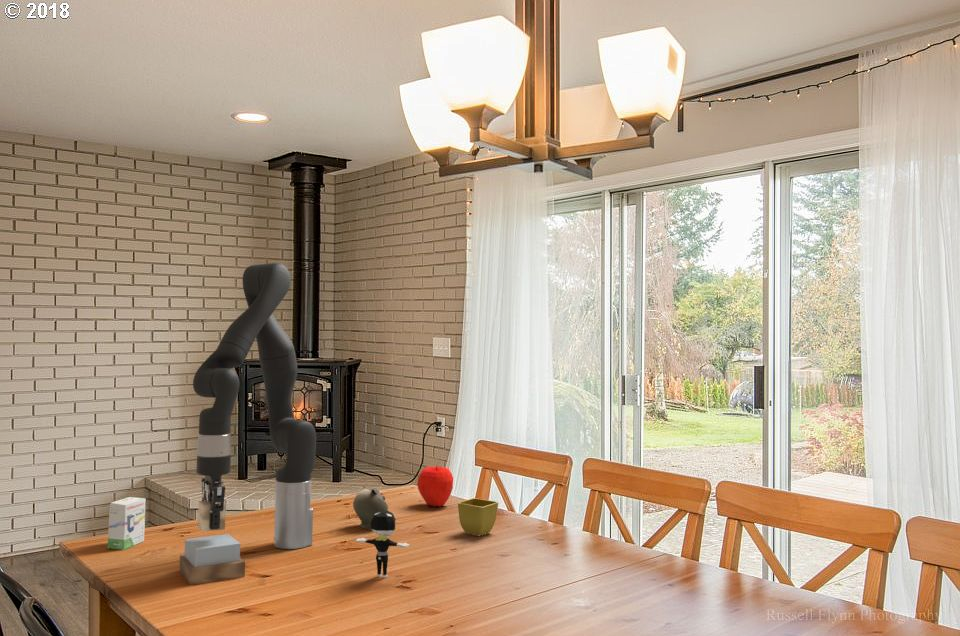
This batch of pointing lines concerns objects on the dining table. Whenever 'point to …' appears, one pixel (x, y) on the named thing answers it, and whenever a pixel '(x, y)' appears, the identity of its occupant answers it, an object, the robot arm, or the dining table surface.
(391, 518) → the toy
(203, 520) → the maple block
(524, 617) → the dining table surface
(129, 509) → the ink box
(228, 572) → the walnut plinth block
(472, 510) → the flower pot
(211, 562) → the slate-blue block
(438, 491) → the apple
